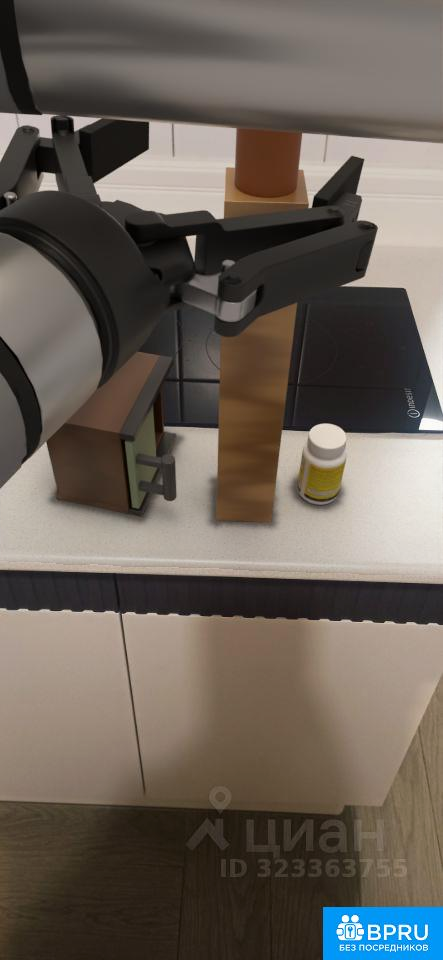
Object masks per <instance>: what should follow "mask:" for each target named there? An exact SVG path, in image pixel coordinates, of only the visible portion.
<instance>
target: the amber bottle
mask: <svg viewBox="0 0 443 960" xmlns="http://www.w3.org/2000/svg"><path fill="white" fill-rule="evenodd" d="M235 129H236V131H235V153H234V154H235V155H234V156H235V157H234V160H235V161H234V168H235V182H234V183H235V186H236V188H237V189H238V190H240V191H241V192H243V193H246V194H248V195H252V196H257V197H268V198H269V197H280V196H285V195H288V194H290V193H292V192H293V191H294V190H295V189H296V187H297V180H298V170H300V159H301V150H302V141H303V140H302V139H303V133H293V132H279V131H266V130H252V129H239V128H235Z"/></svg>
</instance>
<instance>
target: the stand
mask: <svg viewBox="0 0 443 960" xmlns="http://www.w3.org/2000/svg"><path fill="white" fill-rule="evenodd" d="M234 182H235V167H225V171H224V193H223V195H224V196H223V197H224V199H223V218H231V217H240V216H248V215H256V214H265V213H273V212H281V211H289V210H298V209H306V208H310V201H309V195H308V189H307V183H306V177H305V170H304V169H299V170H298V180H297V187H296V189H295V190H294V191H293V192H292V193H290V194H288V195H285V196H280V197H269V198H268V197H257V196H252V195H248V194H246V193H243V192H241V191H240V190H238V189H237V188H236V186H235V183H234ZM297 309H298V302H297V303H295V304H292V305H290V306H287V307H284V308H282V309H279V310H276V311H274V312H271V313H268V314H266V315H263V316H261V317H258V318H257V319H256V320H255V321H254V322H253V323H251V324H250V325H249V326H248V327H247V328H246V329H245V330H244V331H242V332H241V333H240V334H239V335H237V336H234V337H224V336H221V335H220V351H219V352H220V354H219V356H220V357H219V393H218V398H219V400H218V432H217V433H218V435H217V436H218V437H217V470H216V471H217V472H216V473H217V474H216V509H215V511H216V512H215V513H216V514H215V515H216V517H215V520H216V521H223V522H254V523H255V522H256V523H257V522H258V523H259V522H260V523H272V520H273V511H274V502H275V495H276V486H277V477H278V469H279V468H278V467H279V460H280V451H281V442H282V436H283V435H282V434H283V427H284V419H285V410H286V401H287V392H288V385H289V378H290V377H289V375H290V370H291V369H290V367H291V359H292V352H293V351H292V350H293V342H294V336H295V335H294V333H295V327H296V325H295V324H296V317H297Z"/></svg>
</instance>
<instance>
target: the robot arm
mask: <svg viewBox="0 0 443 960" xmlns="http://www.w3.org/2000/svg"><path fill="white" fill-rule="evenodd" d="M1 113H2V114H12V115H26V116H27V115H29V116H43V115H51V117H50V129H51V137H44V136H41V134H40V128H38V127H36V126H32V125H29V124H28V125H27V124H26V125H21V126H18V127H17V128H16V130H15V132H14V134H13V136H12V137H11V140H10V141H9V144H8V145H7V148H5V149H6V150H5V151H4V153H3V155H2V158H1V160H0V490H1V489H2V488H3V487H4V486H5V485H6V484H7V483H8V482H9V480H11V478H12V477H13V476H14V475H15V474H16V473H17V472H18V471H19V470H20V469H21V468H22V465H24V464H25V463H26V462H27V461H28V460H29V459H31V458H32V457H33V456H34V455H35V454H36V453H37V452H38V450H40V449H41V448H42V446H44V445H45V444H46V441H47V440H48V439H49V438H50V437H51V436H52V435H53V434H54V433H55V432H56V431H57V430H58V429H59V428H60V427H61V426H62V425H63V424H64V423H65V422H66V421H67V420H68V419H69V418H70V417H71V416H72V415H73V414H74V413H75V412H76V411H77V410H78V409H79V408H80V407H81V406H82V405H83V404H84V403H85V402H86V401H87V400H88V399H89V397H90V396H91V395H92V394H93V393H94V392H95V390H97V389H98V388H100V387H101V386H103V385H104V384H105V383H106V382H107V381H108V380H109V379H110V378H111V377H112V376H113V375H114V374H115V373H116V372H117V371H118V370H119V369H120V368H121V367H122V366H123V365H124V364H125V363H126V362H127V361H128V360H129V359H130V358H131V357H132V356H133V355H134V354H135V353H136V352H139V350H140V349H141V348H142V347H143V346H144V345H145V344H146V342H147V340H148V339H149V338H150V337H151V335H152V332H154V330H155V328H156V326H157V325H158V323H159V322H160V320H161V319H162V317H163V316H166V315H167V314H169V313H171V312H175V311H177V310H181V309H183V308H185V307H186V306H188V305H190V306H192V307H195V308H198V309H200V310H202V311H205V312H207V313H209V314H212V315H213V316H214V320H213V321H214V322H213V331H214V332H215V333H216V334H217V335H219V336H220V337H221V336H224V337H234V336H237V335H239V334H240V333H241V332H242V331H244V330H245V329H246V328H247V327H248V326H249V325H250V324H251V323H253V322H254V321H255V320H256V319H257V318H258V317H261V316H263V315H266V314H268V313H271V312H274V311H276V310H279V309H282V308H284V307H287V306H290V305H292V304H295V303H297V304H298V303H300V302H302V301H305V300H308V299H310V298H313V297H316V296H319V295H321V294H324V293H327V292H328V291H332V290H334V289H337V288H339V287H342V286H345V285H348V284H350V283H353V282H356V281H358V280H361V279H363V278H364V277H366V274H367V270H368V268H369V267H368V266H369V264H370V260H371V256H372V252H373V249H374V245H375V242H376V237H377V233H378V229H379V226H378V225H377V224H375V223H374V222H372V221H369V220H362V219H359V216H360V211H361V207H362V202H363V197H362V195H360V194H357V192H358V188H359V184H360V179H361V176H362V171H363V167H364V162H365V158H362V157H359V156H355V155H350V156H349V158H348V159H346V160H345V162H344V163H343V164H342V165H341V167H339V168H338V169H337V171H336V172H335V173H333V175H332V176H331V177H330V179H328V181H326V182H325V184H324V185H323V186H321V188H320V189H319V190H318V191H317V192H316V193H315V194H314V195H313V198H312V203H311V207H309V208H306V209H298V210H289V211H281V212H273V213H265V214H256V215H248V216H240V217H231V218H224V217H223V218H216V217H215V216H214V215H213V214H212V213H211V212H210V211H208V210H205V209H204V210H203V209H202V210H194V211H185V212H184V211H183V212H176V213H166V214H165V213H162V212H157V211H155V210H146V209H142V208H140V207H138V206H136V205H134V204H132V203H130V202H125V201H124V200H120V199H116V200H114V201H107V200H102V199H101V197H100V195H99V194H98V192H97V190H96V186H95V184H96V183H97V182H98V181H100V180H102V179H103V178H105V177H107V176H108V175H110V174H111V173H114V172H116V170H118V169H120V168H121V167H123V166H125V165H127V163H129V162H131V161H133V160H134V159H136V158H137V157H139V156H141V155H142V154H144V153H146V152H147V151H149V150H150V123H159V124H171V125H186V126H198V127H200V126H201V127H211V128H212V127H214V128H226V129H236V128H239V129H252V130H266V131H279V132H293V133H302V134H308V135H320V136H321V135H322V136H333V137H334V136H336V137H349V138H363V139H377V140H387V141H388V140H389V141H402V142H403V141H404V142H415V143H416V142H418V143H419V142H420V143H430V144H431V143H432V144H443V0H0V114H1ZM73 117H75V118H76V117H78V118H90V119H98V120H96V121H94V122H92V123H90V124H86V125H84V126H83V127H81V128H79V129H76V130H75V123H74V122H75V120H74V118H73ZM45 174H53V175H55V182H56V187H57V190H54V189H53V190H51V189H48V190H40V188H41V186H42V182H43V180H44V177H45ZM358 219H359V220H358ZM193 236H195V243H194V244H195V245H194V246H195V247H194V257H193V254H192V251H191V248H190V244H189V242H188V238H187V237H193Z"/></svg>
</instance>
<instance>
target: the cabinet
mask: <svg viewBox="0 0 443 960" xmlns="http://www.w3.org/2000/svg"><path fill="white" fill-rule="evenodd" d="M173 365H174V357H170V356H166V355H158V354H152V353H146V352H142V351H141V352H140V351H137V352H136V353H135V354H134V355H133V356H132V357H131V358H130V359H129V360H128V361H127V362H126V363H125V364H124V365H123V366H122V367H121V368H120V369H119V370H118V371H117V372H116V373H115V374H114V375H113V376H112V377H111V378H110V379H109V380H108V381H107V382H106V383H105V384H104V385H103V386H101V387H100V388H98V389H97V390H95V392H94V393H93V394H92V395H91V396H90V397H89V399H88V400H87V401H86V402H85V403H84V404H83V405H82V406H81V407H80V408H79V409H78V410H77V411H76V412H75V413H74V414H73V415H72V416H71V417H70V418H69V419H68V420H67V421H66V422H65V423H64V424H63V425H62V426H61V427H60V428H59V429H58V430H57V431H56V432H55V433H54V434H53V435H52V436H51V437H50V438H49V439H48V440H47V441H46V442H45V444H46V448H47V452H48V457H49V460H50V465H51V470H52V473H53V477H54V482H55V486H56V491H55V498H56V499H57V500H61V501H66V502H70V503H75V504H80V505H85V506H89V507H95V508H99V509H103V510H110V511H114V512H118V513H122V514H128V515H133V516H138V517H143V515H144V513H145V511H146V509H147V506H148V504H149V502H150V499H151V497H152V495H153V493H149V492H146V494H145V497H144V499H143V501H142V503H141V506H140V508H139V509H138V508H133V507H132V500H131V491H130V482H129V473H128V465H127V456H126V447H125V440H129V441H135V440H136V438H137V436H138V434H139V432H140V430H141V428H142V426H143V424H144V422H145V420H146V418H147V416H148V414H149V412H150V410H151V408H152V406H153V415H154V430H155V444H156V457H160V458H162V457H163V456H164V455H167V454H170V455H171V452H172V449H173V447H174V445H175V442H176V440H177V434H176V433H173V432H168V431H165V419H164V418H165V417H164V402H163V401H164V400H163V398H164V397H163V385H164V384H165V382H166V380H167V377H168V376H169V374H170V371H171V370H172V369H173ZM161 475H162V469H161V468H157V470H156V472H155V474H154V476H153V479H152V481H151V483H156V484H158V482H159V479H160V476H161Z"/></svg>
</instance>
